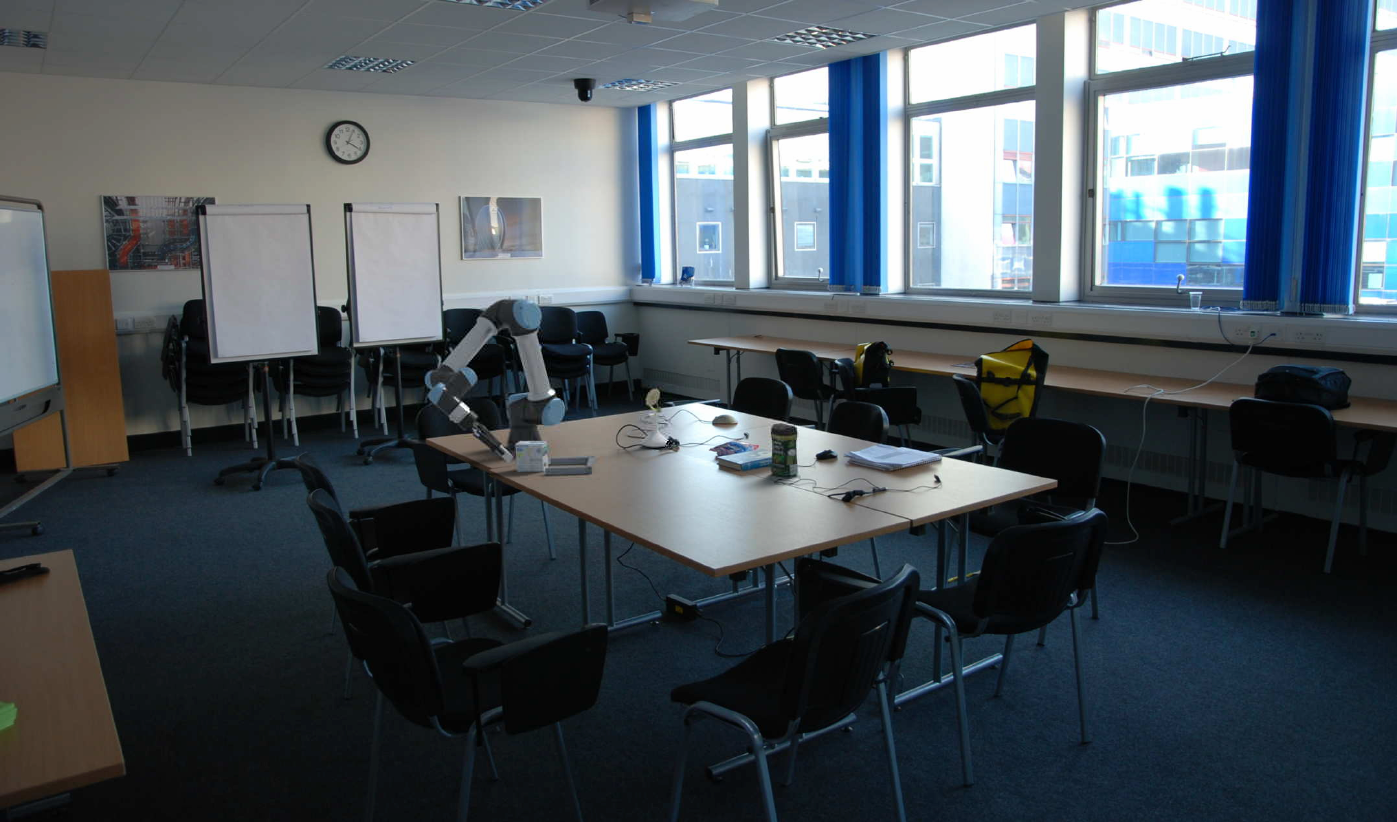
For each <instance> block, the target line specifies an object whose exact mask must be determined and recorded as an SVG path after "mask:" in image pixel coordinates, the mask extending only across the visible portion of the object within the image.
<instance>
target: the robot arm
mask: <svg viewBox="0 0 1397 822" xmlns="http://www.w3.org/2000/svg"><path fill="white" fill-rule="evenodd" d="M542 318H543V316H542V311H541V309H540V307H539V305H538V304H537V303H536V302H535V301H533V300H530V299H525V298H519V299H516V298H515V299H514V298H513V299H511V298H510V299H508V298H507V299H506V298H503V299H499V300H497V301H495V302H493V304H491V305H490V306H488V307H487V308H486V309H485V310H484V311H483V312H482V313H481V314H480V315H479V316H478V318H477V319H476V323H475V325H474V326H473V328H471V330H470V331H469V332H468V333H467V334H466V335H465V337H464V338H462V340H461V341H460V342H459V344H458V345H457V346H456V347H455V348H454V349H453V350H452V352H451V353H450V354H449V355H448V356H447V357H446V359H445V360H444V361H443V362H442V363H441V364H440V365H439V367H437V368H436V369H433V370H430V371H428V372H427V373H426V374H425V376H424V382H425V385H426V387H427V388H428V389H430V391H429V393H427V398H428V399H429V400H430V401H431V402H432V403H433V405H435V406H436V408H438V409H439V410H440V411H442V412H443V413H444V414H445V415H446V416H447V417H449V421H451V422H452V421H453V422H454V423H455V424H458V427H460V429H462V431H467V430H468V429H469V430H470V431H471V433H472V436H473V437H475V438H476V439H478V440H479V441H481V443H482V444H484V445H485V446H486V447H488V448H489V449H490V450H491V451H492V452H493V453H495V452H496V453H497V454H498V455H499V456H500V457H502V459H504V460H505V462H507V463H510V462H511V460H513V458H514V456H513V454H511V453H510V452H509V451H508V450H511V451H512V450H513V451H514V450H515V451H516V447H515V444H516V443H518V442H520V441H543V439H542V436H541V434H540V431H539V427H538V426H545V427H554V426H556V425H558V424H560V423H561V422H562V420H563V418H564V417H565V412H566V405H565V403H564V401H563V400H562V399H561V398H558V397H557V392H556V391H555V389H553V388H551V385H550V382H549V377H548V374H547V370H546V365H545V361H544V359H543V354H542V350H541V347H540V343H539V339H538V338H539V337H538V335H537V334H538V332H539V330H540V328H539V326H540V325H541V323H542ZM503 329H508V331H509V333H510V337H512V338H514V339H515V342H516V345H517V349H518V353H519V358H520V360H521V361H520V362H521V363H522V367H523V368H522V369H523V371H524V375H525V379H526V384H527V387H528V390H529V391H528V392H523V393H515V394H511V395H509V397H508V403H507V407H508V419H509V421H508V422H509V432H508V435H507V438H506V439H507V440H506V448H505V447H503V443H502V442H501V441H499V440H498V439H497V437H496V436H495V435H493V434H492V432H490V430H488V429H487V427H486V426H485V425H484V424H482V423H480V422H478V421H477V419H479V416H478V415H477V413H475V412H474V410H471V408H470V407H469V406H468V405H467V404H465V403H464V402H463V400H461V398H462V397H463V396H464V395H465V394H466V393H468V391H469V390H470V389H472V388H473V386H474V385H475V384H476V383H477V382H478V375H476V372H475V371H474V370H473V369H472V368H470V367H468V366H467V365H468V364H469V363H470V362H471V361H472V359H473V358H474V357H475V356H476V355H477V353H479V352H480V350H481V349H482V347H483V346H484V345H485V344H486V343H488V341H489V339H490V338H492V336H496V335H497V334H498V333H499V332H500V331H501V330H503ZM508 448H509V449H508ZM507 449H508V450H507Z"/></svg>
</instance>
